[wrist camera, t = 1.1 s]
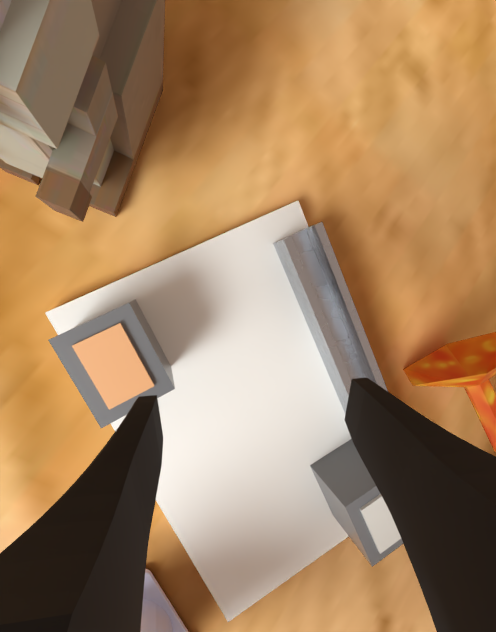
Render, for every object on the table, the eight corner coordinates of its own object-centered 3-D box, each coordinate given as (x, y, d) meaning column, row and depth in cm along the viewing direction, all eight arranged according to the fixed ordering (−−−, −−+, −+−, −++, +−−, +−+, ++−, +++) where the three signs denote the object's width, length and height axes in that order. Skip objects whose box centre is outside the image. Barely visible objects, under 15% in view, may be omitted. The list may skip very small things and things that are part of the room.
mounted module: (333, 515, 26) (374, 569, 21) (309, 465, 25) (346, 509, 20) (372, 488, 27) (421, 533, 22) (351, 438, 26) (397, 474, 21)
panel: (224, 607, 26) (228, 622, 25) (51, 311, 21) (45, 312, 20) (403, 482, 30) (413, 490, 28) (291, 204, 24) (298, 200, 23)
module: (113, 396, 21) (100, 429, 16) (74, 327, 20) (46, 340, 15) (171, 366, 22) (175, 390, 17) (135, 299, 21) (128, 303, 16)
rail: (377, 491, 27) (394, 506, 25) (273, 243, 23) (283, 239, 21) (406, 471, 28) (424, 485, 26) (308, 226, 24) (322, 221, 22)
